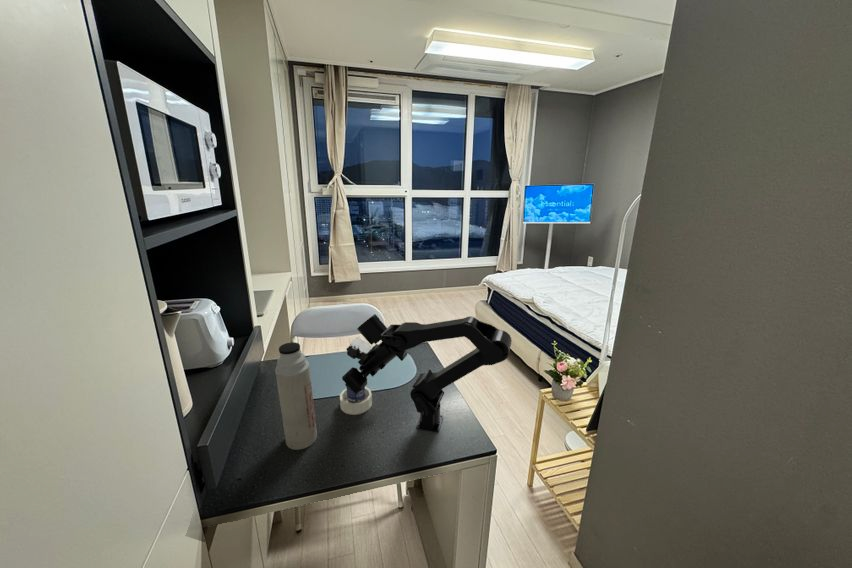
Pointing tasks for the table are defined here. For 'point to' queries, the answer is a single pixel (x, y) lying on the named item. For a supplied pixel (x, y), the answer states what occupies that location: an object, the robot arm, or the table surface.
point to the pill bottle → (355, 395)
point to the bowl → (355, 407)
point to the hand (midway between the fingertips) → (351, 380)
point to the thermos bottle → (295, 397)
